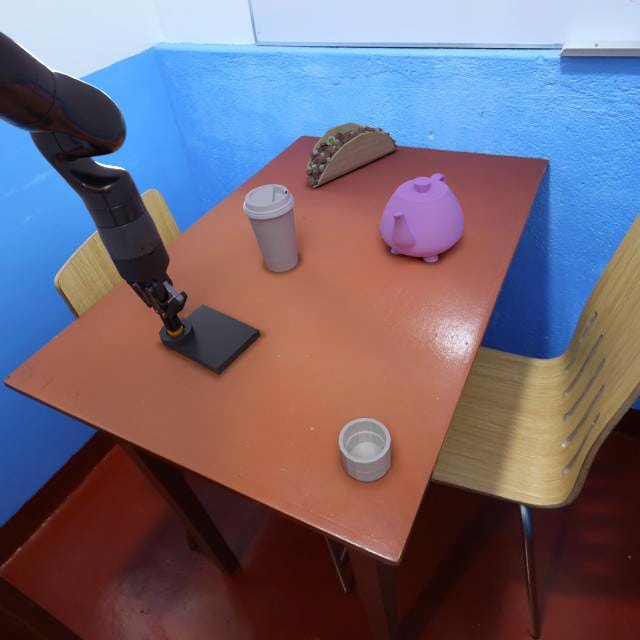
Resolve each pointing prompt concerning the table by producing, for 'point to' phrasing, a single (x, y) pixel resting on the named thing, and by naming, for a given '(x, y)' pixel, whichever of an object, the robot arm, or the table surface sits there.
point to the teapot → (422, 218)
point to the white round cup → (365, 449)
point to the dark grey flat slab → (211, 338)
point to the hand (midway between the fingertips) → (174, 328)
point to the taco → (346, 151)
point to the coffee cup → (273, 225)
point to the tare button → (176, 331)
